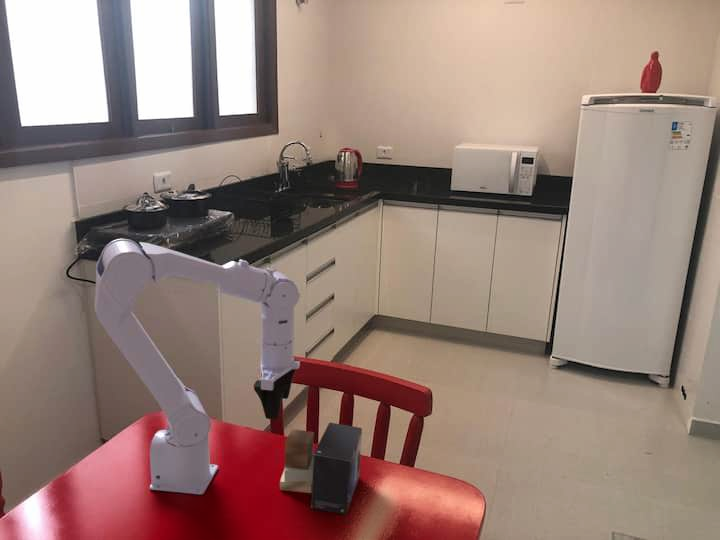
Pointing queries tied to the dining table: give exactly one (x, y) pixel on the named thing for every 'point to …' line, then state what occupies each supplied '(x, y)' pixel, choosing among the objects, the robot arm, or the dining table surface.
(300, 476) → the tower top
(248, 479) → the dining table surface
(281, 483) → the tower base
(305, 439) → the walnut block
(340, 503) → the small box
